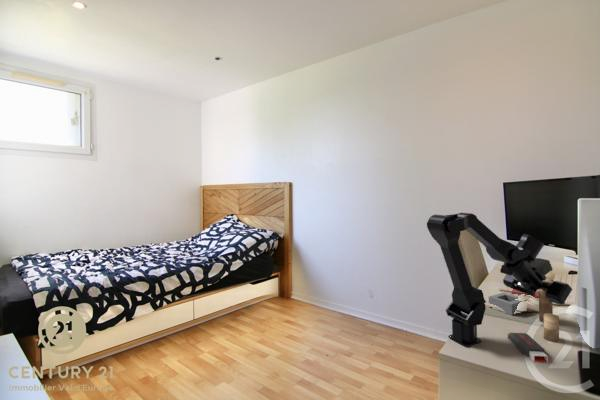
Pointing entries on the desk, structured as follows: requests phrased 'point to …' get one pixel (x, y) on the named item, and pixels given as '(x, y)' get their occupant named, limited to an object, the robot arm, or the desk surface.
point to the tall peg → (544, 304)
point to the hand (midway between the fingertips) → (548, 299)
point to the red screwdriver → (520, 292)
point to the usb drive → (528, 346)
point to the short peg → (551, 327)
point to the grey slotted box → (505, 302)
